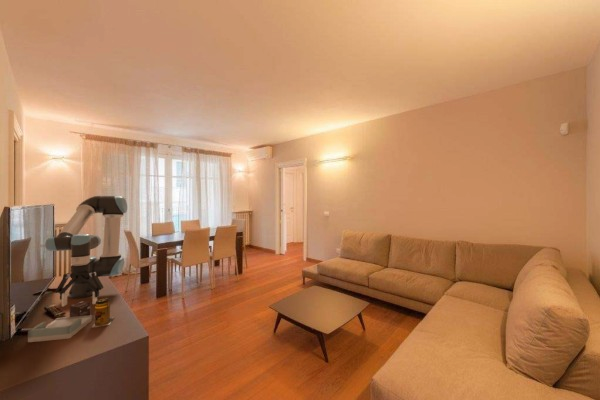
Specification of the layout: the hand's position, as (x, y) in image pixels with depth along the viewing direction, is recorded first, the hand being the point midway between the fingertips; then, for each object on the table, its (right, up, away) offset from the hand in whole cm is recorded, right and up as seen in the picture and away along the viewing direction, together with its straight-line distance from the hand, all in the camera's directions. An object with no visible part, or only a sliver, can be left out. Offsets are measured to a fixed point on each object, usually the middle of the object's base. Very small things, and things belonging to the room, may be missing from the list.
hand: (79, 304), depth 128 cm
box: (0, -8, +1) cm, 7 cm away
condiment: (+16, -8, -4) cm, 18 cm away
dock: (+3, -7, -12) cm, 14 cm away
